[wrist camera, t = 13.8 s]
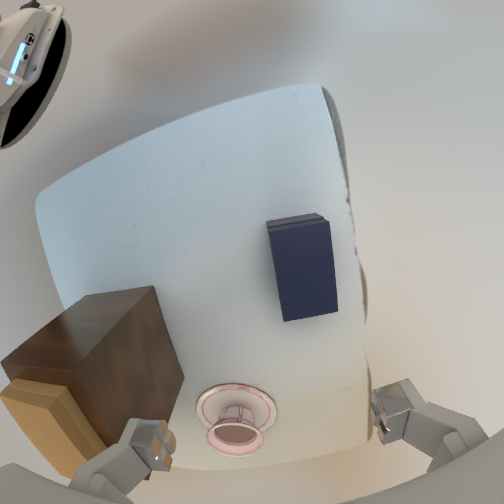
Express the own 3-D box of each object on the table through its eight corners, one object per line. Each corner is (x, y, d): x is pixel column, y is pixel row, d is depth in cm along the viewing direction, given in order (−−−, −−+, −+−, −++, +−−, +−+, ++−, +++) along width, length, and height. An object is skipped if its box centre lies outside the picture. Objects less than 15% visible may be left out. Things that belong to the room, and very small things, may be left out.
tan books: (15, 377, 16) (-2, 394, 13) (66, 385, 16) (47, 409, 13) (71, 457, 18) (61, 475, 16) (126, 470, 18) (117, 492, 15)
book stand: (85, 295, 33) (-1, 361, 16) (153, 285, 33) (73, 370, 15) (119, 378, 36) (68, 462, 19) (184, 377, 36) (148, 480, 18)
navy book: (267, 227, 27) (268, 231, 25) (324, 218, 26) (329, 221, 25) (282, 313, 29) (283, 322, 27) (333, 303, 28) (338, 311, 27)
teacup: (267, 438, 39) (268, 466, 33) (194, 427, 38) (187, 455, 32) (285, 388, 36) (288, 419, 30) (199, 375, 36) (190, 405, 30)
